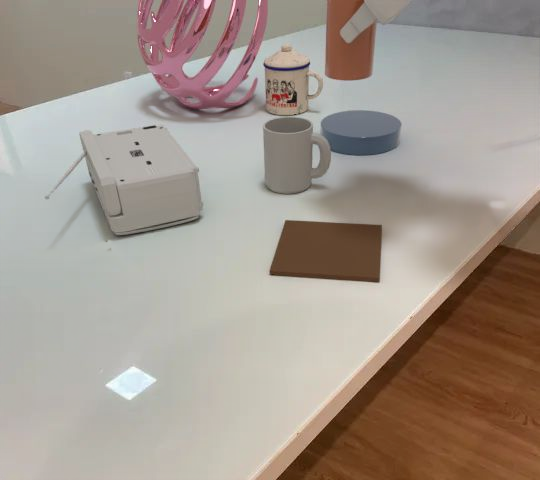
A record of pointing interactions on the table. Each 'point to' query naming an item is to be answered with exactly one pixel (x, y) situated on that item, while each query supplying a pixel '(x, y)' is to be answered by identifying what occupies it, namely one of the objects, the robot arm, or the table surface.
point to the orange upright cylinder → (347, 44)
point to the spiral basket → (184, 48)
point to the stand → (361, 132)
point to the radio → (140, 178)
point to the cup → (292, 154)
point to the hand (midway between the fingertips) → (346, 30)
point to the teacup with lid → (288, 82)
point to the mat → (329, 251)
